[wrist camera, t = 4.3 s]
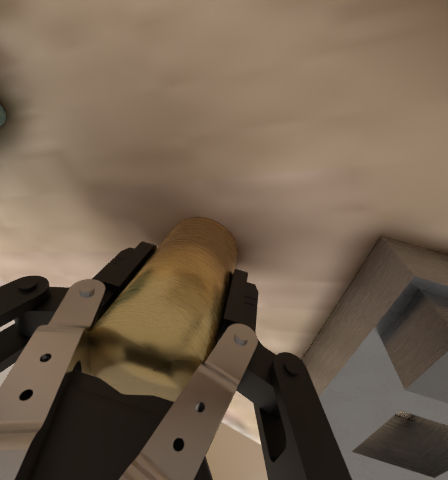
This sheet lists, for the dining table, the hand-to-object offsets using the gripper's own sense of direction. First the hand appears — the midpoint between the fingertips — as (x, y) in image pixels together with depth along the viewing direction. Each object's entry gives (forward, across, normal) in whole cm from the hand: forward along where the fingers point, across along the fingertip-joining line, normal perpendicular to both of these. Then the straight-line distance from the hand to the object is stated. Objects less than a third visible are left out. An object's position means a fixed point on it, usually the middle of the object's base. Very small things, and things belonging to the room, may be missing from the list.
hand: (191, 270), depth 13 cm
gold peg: (+2, 0, 0) cm, 2 cm away
